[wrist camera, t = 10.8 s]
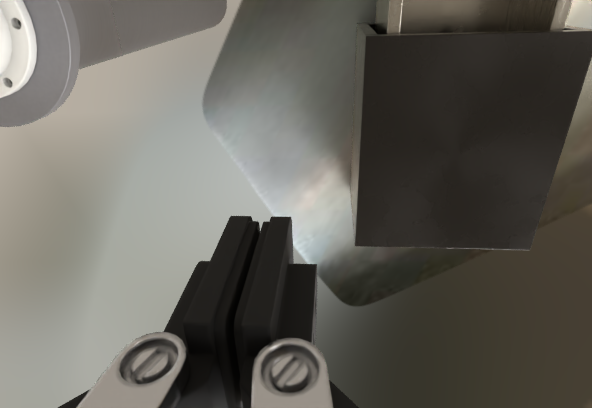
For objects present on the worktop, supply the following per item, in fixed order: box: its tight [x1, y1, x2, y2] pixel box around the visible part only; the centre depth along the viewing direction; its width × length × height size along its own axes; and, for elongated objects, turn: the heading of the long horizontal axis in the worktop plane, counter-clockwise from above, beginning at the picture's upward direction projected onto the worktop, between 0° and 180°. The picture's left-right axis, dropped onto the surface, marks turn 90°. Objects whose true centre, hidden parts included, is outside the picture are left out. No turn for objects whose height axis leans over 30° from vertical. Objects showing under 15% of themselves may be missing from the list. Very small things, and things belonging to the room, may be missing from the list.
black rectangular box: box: [350, 23, 592, 250], centre depth 29 cm, size 15×13×10 cm
